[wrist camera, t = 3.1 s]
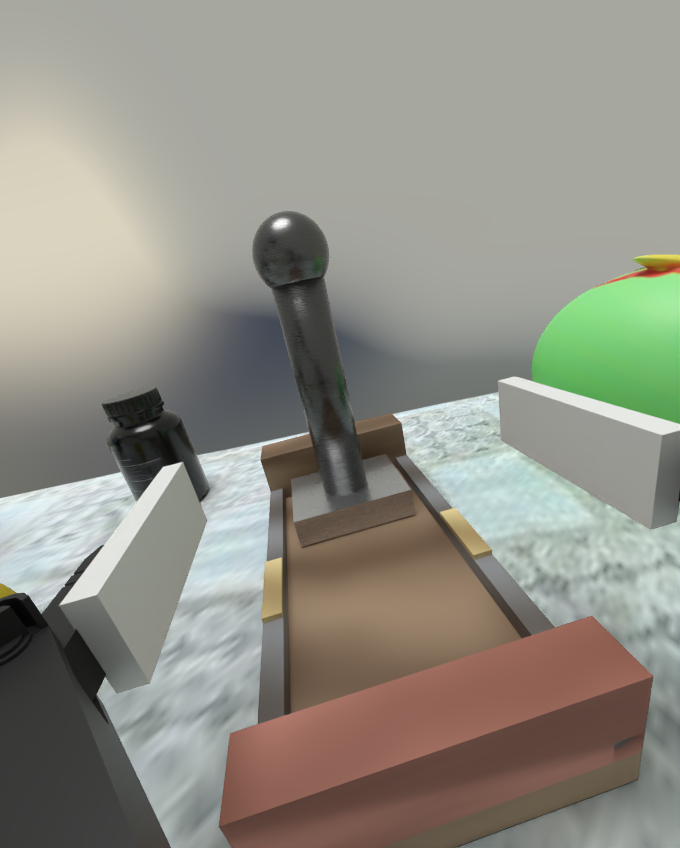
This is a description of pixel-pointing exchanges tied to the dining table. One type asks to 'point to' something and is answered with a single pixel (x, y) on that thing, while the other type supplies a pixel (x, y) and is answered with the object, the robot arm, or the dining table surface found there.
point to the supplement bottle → (149, 440)
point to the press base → (396, 619)
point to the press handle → (323, 391)
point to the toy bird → (620, 341)
